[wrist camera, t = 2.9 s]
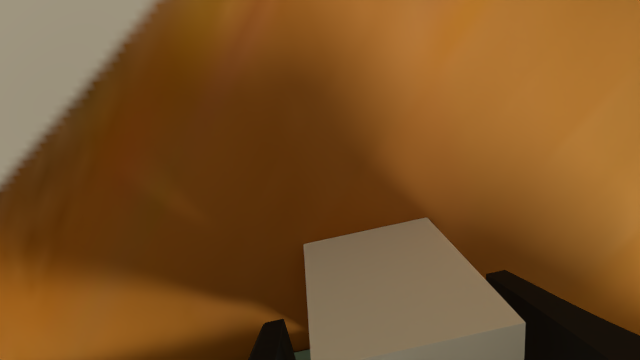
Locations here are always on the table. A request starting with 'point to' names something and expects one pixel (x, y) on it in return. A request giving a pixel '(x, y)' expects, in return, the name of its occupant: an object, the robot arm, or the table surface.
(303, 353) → the press
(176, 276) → the table surface
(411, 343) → the block
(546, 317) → the robot arm
